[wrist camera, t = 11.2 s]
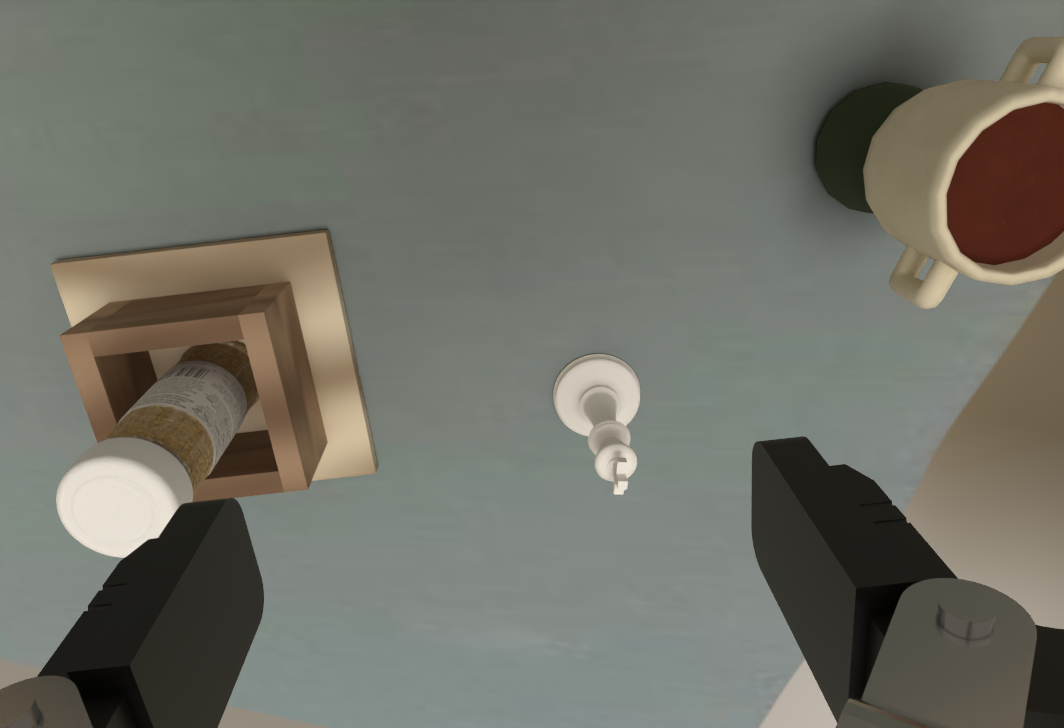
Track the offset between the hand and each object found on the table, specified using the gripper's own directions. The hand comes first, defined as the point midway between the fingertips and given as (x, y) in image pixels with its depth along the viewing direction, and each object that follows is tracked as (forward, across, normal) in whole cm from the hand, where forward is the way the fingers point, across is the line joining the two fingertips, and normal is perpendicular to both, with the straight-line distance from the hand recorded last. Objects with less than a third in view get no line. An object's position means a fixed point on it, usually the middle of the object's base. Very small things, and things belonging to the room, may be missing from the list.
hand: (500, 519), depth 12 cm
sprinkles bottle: (+29, +16, +8) cm, 34 cm away
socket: (+30, +16, +8) cm, 35 cm away
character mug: (+30, -19, 0) cm, 36 cm away
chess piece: (+30, -4, +12) cm, 33 cm away
